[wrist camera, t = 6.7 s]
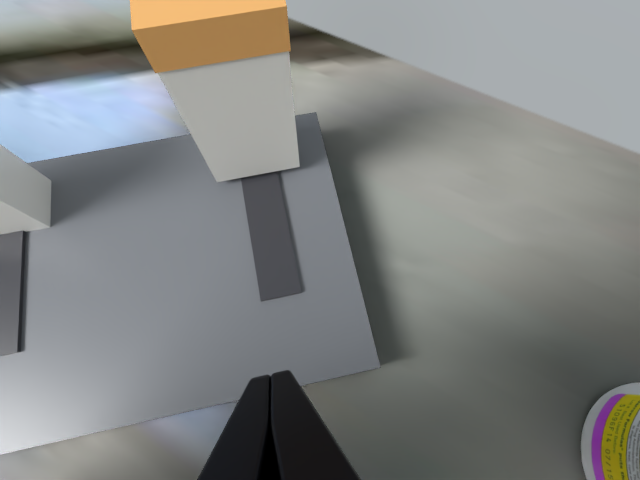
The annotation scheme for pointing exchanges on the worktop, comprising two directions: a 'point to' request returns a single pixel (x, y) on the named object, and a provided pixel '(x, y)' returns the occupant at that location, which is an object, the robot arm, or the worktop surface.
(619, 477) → the supplement bottle
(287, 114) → the block
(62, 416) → the grey plate with uprights
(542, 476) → the worktop surface
